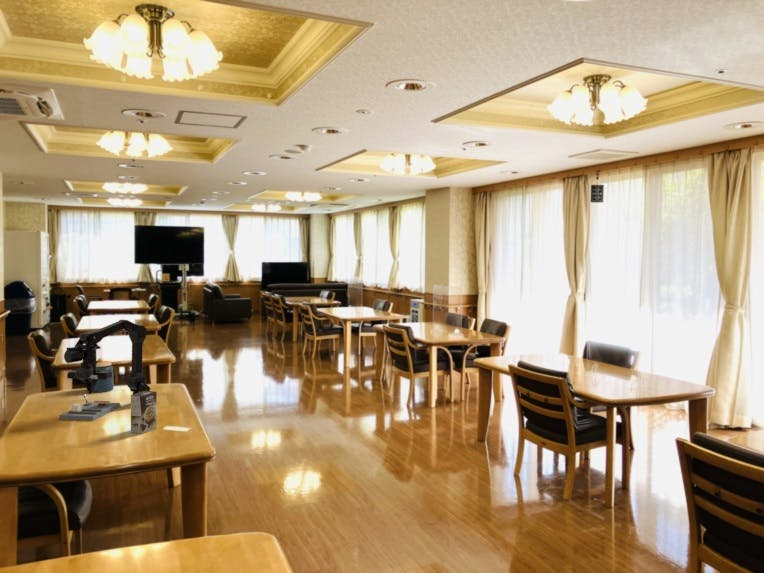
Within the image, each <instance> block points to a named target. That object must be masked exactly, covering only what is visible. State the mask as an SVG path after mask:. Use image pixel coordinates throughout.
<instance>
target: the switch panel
mask: <svg viewBox="0 0 764 573" xmlns="http://www.w3.org/2000/svg"><path fill="white" fill-rule="evenodd" d="M119 408H121V403H120V402H110V403H94V401H88V402H87V403H86V402H85V403H83V404H82V411H80V412H75V411H72V409H70V410H68V411H66V412H63V413H61V414H59V415H58V416H59V417H58V420H61V419H69V420H68V421H89V422H90V421H92V422H94V421H96V420H98V419H99V418H101V417H103V416H105V415H107V414H109V413H111V412H114V411H116V410H117V409H119Z"/></svg>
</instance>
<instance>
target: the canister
mask: <svg viewBox="0 0 764 573" xmlns="http://www.w3.org/2000/svg"><path fill="white" fill-rule="evenodd" d="M97 361H98V363H97V369H98V372H97V373H99V372H102V371H111V372H112V377H110V378H108V379H98V381H97V382H96V384H95V387H94V389H93V391H92V393H106V392H110V391H113V390H114V388H115V384H114V383H115V382H114V366H112V365H113V363H112V362H110V361H108V360H104V359H103V358H102V357H99V358H98V359H97Z"/></svg>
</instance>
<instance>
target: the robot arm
mask: <svg viewBox="0 0 764 573" xmlns="http://www.w3.org/2000/svg"><path fill="white" fill-rule="evenodd" d="M122 330H123V331H125V332H128V337H129V340H130V342H131V371H130V374H129V375H126V383H125V384H127V387H128V388H129V390H130V392H131V393H132V395H133V394H136V393H139V392H143V391H151V386H149V385H148V384H147V383H146V377H145V375H144V373H143V354H144V353H143V352H144V351H143V348H144V347H143V346H144V342H145V340H146V338H147V331H148V329H147V327H146V326H145V325H140V324H136V323H134V322H131V321H130V320H128V319H119V320H118V321H116V322H113V323H111V324H109V325H106V326H102V327H101V328H99V329H94V330H93V329H92V330H89V331H84V332H82V333H80V336H79V339H78V341H76V344H74V346H72V347H66V350H65V352H64V355H63V358H64V361H65V363H67V364H71V363H77V362H80V366H79V367H78V368H77V369H73V370H70V371H68V372H67V374H66V378H67V379H74V378H75V379H76V380H79V381H81V382H83V383H84V385H85V387H86V388H85V389H87V392H88V394H92V393H93V392H92V391H93V389H94V387H95V384H96V382H97V381H98V379H108V378H110V377H112V372H111V371H102V372H99V373H97V372H98V369H97V363H98V360H97V350H101V346H99V344H98V343H100V342H101V341H102V340H103V339H104V338H106V337H108V336H111V335H113V334H115V333H117V332H120V331H122Z"/></svg>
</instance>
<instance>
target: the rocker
mask: <svg viewBox="0 0 764 573" xmlns="http://www.w3.org/2000/svg"><path fill="white" fill-rule="evenodd" d="M93 402H94V403H111V401H109V400H105V401H104V400H93Z"/></svg>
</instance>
